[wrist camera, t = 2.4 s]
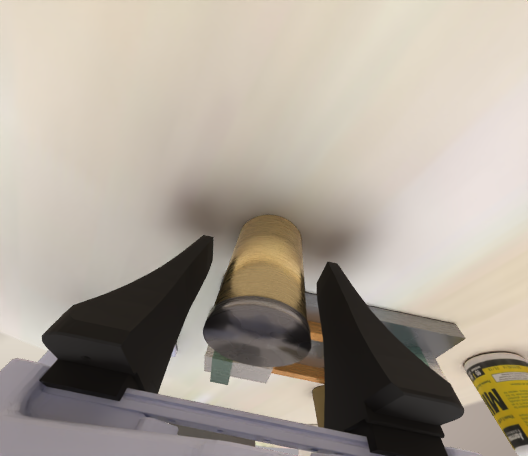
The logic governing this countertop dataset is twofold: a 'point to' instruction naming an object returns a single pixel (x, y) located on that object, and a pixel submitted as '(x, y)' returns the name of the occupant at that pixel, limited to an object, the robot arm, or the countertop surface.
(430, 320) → the bench plate
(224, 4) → the countertop surface
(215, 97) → the countertop surface
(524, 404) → the supplement bottle
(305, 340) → the tan and grey cylinder
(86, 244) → the countertop surface
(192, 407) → the robot arm
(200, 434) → the dark grey rounded block
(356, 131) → the countertop surface
